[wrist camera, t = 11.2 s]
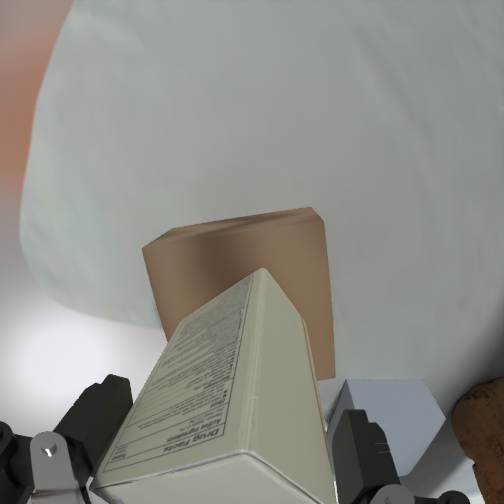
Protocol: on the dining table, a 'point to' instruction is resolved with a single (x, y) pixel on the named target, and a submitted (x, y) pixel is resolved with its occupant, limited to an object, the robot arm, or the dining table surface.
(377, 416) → the slate block
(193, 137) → the dining table surface
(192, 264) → the walnut block
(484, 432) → the block
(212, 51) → the dining table surface
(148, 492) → the skincare box
